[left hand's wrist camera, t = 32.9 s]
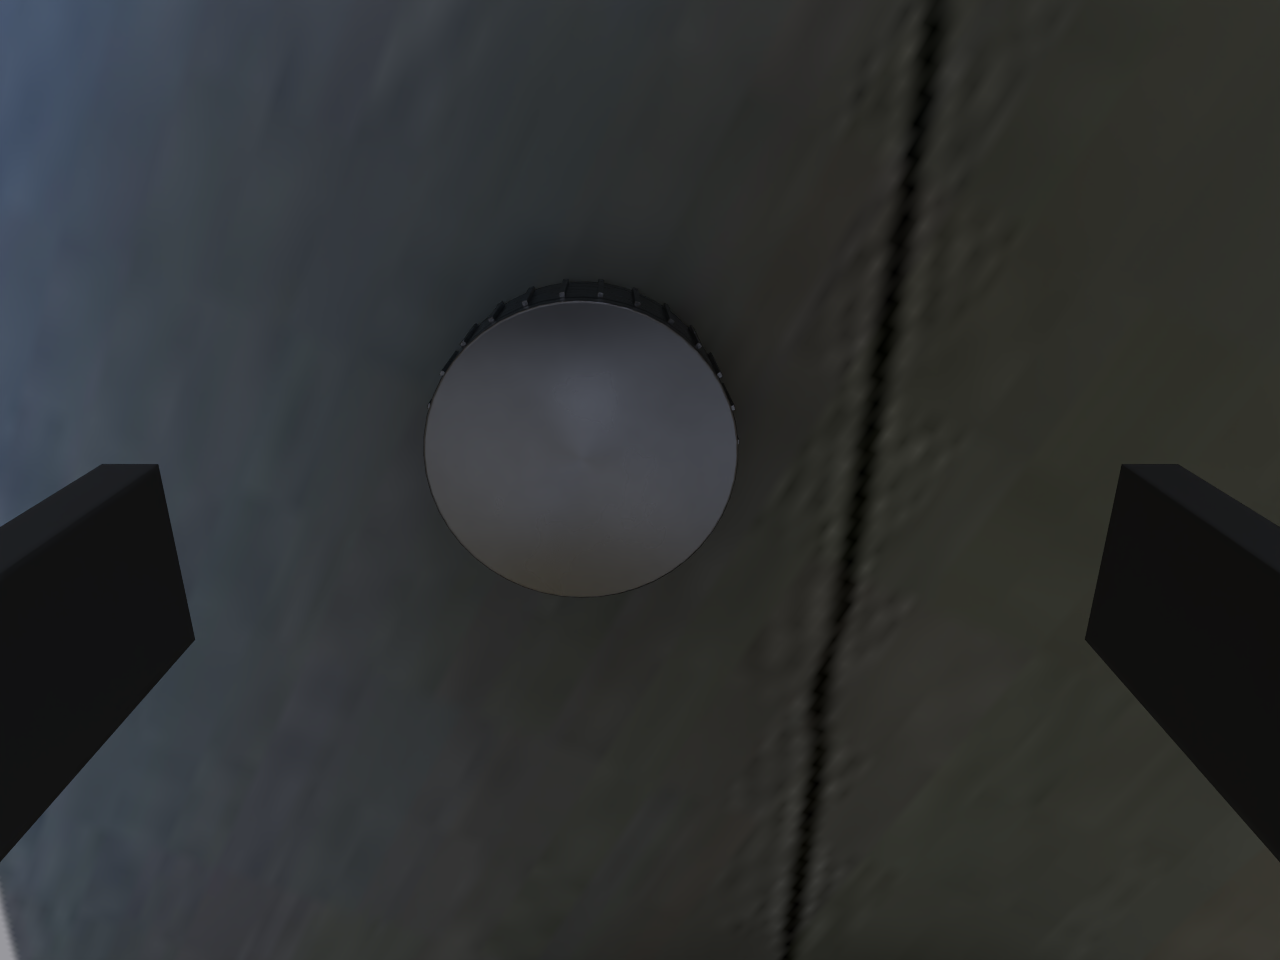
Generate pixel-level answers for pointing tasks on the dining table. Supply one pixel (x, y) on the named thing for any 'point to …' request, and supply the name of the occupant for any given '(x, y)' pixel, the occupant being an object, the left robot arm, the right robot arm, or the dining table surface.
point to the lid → (581, 441)
